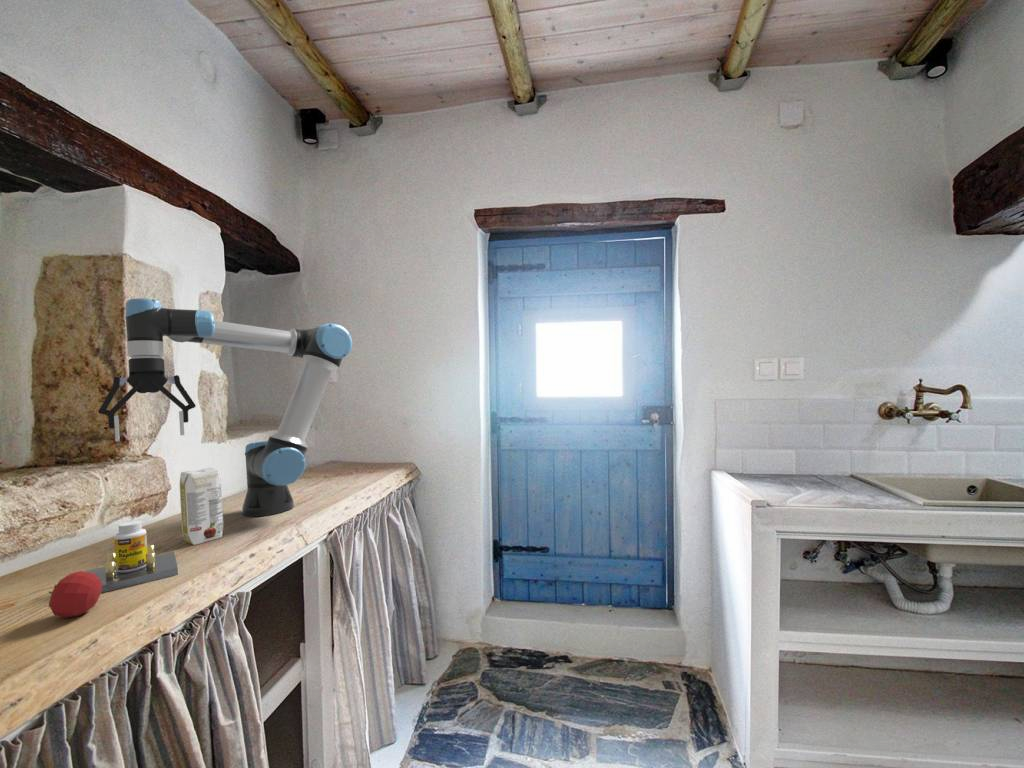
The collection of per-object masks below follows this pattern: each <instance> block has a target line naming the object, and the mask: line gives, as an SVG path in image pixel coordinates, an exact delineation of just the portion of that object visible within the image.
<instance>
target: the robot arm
mask: <svg viewBox="0 0 1024 768" xmlns="http://www.w3.org/2000/svg"><path fill="white" fill-rule="evenodd" d="M125 326H126V327H125V328H126V340H127V342H126V343H127V356H128V357H130V358H129V359H128V360H127V362H128V376H127V377H119V376H115V377H113V381H112V382H113V383H112V386H111V388H110V390H109V392H108V393H107V396H106V397H105V399H104V401H103V402H102V404H101V406H100V407H99V410H98V411H97V413H98V414H99V415H105V416H106V417H107V419H108V421H107V422H108V429H114V438H115V439H114V440H115V442H120V441H121V440H120V422H119V415H115V414H116V413H117V412H118V411H120V409H121V408H122V407H123V406H124V405H125V404H126V403H127V402H128V401H129V400H130V399H131V398H132V397H133V396H134V395H135V394H136V393H138V394H146V393H152V394H156V393H158V392H161V393H162V394H163V395H164V396H166V398H168V399H169V400H170V401H171V402H172V403H174V404H175V405H176V406H177V407H178V408H180V409H181V411H178V415H179V435H180V436H185V424H184V423H189V410H193V409H195V408H196V406H197V405H196V404H195V402H194V401H193V399H192V397H191V396H190V395H189V393H188V392H187V390H186V389H185V387H184V386H183V385H182V382H181V379H180V378H181V377H180V375H178V374H176V375H172V376H167V375H166V370H165V369H166V367H165V366H166V365H165V359H163V358H162V357H164V356H165V351H164V337H167V338H169V339H170V341H173V342H176V343H194V344H195V343H196V344H204V345H205V344H207V345H215V346H216V345H217V346H224V347H234V348H242V349H251V350H257V351H258V350H259V351H266V352H276V353H283V354H284V353H285V354H287V356H289V357H292V358H301V359H303V360H304V363H305V364H304V366H303V368H302V371H301V372H300V376H299V378H298V380H297V383H296V386H295V388H294V391H293V392H292V395H291V398H290V400H289V402H288V405H287V407H286V410H285V411H284V412H285V413H284V415H283V418H282V419H281V422H280V425H279V427H278V428H277V431H276V432H275V433H273V434H272V435H269V438H267V439H268V440H264V441H263V440H262V441H257V442H250V443H248V444H246V445H245V450H244V451H245V452H244V457H245V466H246V467H245V469H246V484H247V487H246V489H247V490H246V494H245V497H244V501H243V503H242V509H241V511H242V515H243V516H245V517H263V516H271V515H276V514H281V513H284V512H286V511H289V510H291V509H293V508H294V507H295V505H294V498H293V495H292V493H291V491H290V488H289V486H288V485H290V484H291V485H292V484H293V483H295V482H297V481H298V480H299V479H300V478H301V476H303V474H304V472H305V470H306V465H307V463H306V462H307V461H306V459H305V456H306V452H307V450H308V447H309V446H308V445H307V442H306V439H307V436H308V434H309V431H310V429H311V427H312V424H313V422H314V419H315V416H316V414H317V411H318V409H319V407H320V403H321V400H323V399H322V398H323V397H324V393H325V392H326V391H325V390H326V389H327V386H328V383H329V380H330V378H331V376H332V373H333V372H335V371H339V368H340V366H341V363H342V360H343V359H344V358H345V357H347V356H348V355H349V354H350V353H351V351H352V349H353V339H352V337H351V334H350V332H349V331H348V330H347V329H346V328H345V327H344V326H342V325H340V324H338V323H325V324H322V325H320V326H317V327H313V328H310V329H309V328H308V329H297V328H291V329H290V330H283V329H275V328H268V327H263V326H257V325H256V326H255V325H247V324H242V323H234V322H229V321H219V320H215V316H214V314H213V313H212V312H211V311H208V310H200V309H181V308H180V309H178V308H177V309H176V308H166V307H163V306H162V304H161V302H160V300H157V299H153V298H152V299H150V298H140V297H139V298H136V297H135V298H130V299H128V300H127V301H126V302H125ZM167 382H170V383H171V384H172V385H175V387H176V389H177V390H178V391H179V393H180V394H181V396H182V397H183V399H184V401H185V402H186V403H187V405H185V404H184V403H183V402H182V401H181V400H179V399H178V398H177V397H176V395H174V394H173V393H172V392H170V391H169V390H168V389H167V388H166V387H164V386H165V384H166V383H167ZM125 383H128V384H129V385H130V386H131V389H130V390H129V391H127V393H126V394H124V396H122V398H120V400H119V401H118V402H117V403H116V404H115V405H114V406H113V407H112V408H111V409H108V408H109V406H110V404H111V403H112V401H113V399H114V397H115V395H116V394H117V393H118V390H119V388H120V386H124V384H125Z"/></svg>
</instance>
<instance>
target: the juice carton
mask: <svg viewBox="0 0 1024 768" xmlns="http://www.w3.org/2000/svg"><path fill="white" fill-rule="evenodd" d="M222 495H223V494H222V478H221V475H220V470H219V469H218V468H215V467H207V468H206V467H205V468H201V469H197V470H189V471H181V472H180V476H179V496H180V497H179V498H180V499H179V500H180V501H179V502H180V516H181V517H180V519H181V531H182V536H183V539H184V541H185V543H188V544H191V545H193V546H195V545H199V544H204V543H207V542H210V541H214V540H217V539H221V538H223V531H224V513H223V512H224V511H223V510H224V509H223V496H222Z"/></svg>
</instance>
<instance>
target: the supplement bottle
mask: <svg viewBox="0 0 1024 768" xmlns="http://www.w3.org/2000/svg"><path fill="white" fill-rule="evenodd" d="M147 536H148V535H147V530H146V529H145V528H143V525H142V521H141V520H133V521H126V522H123V523H120V524H118V532H117V533H116V534H115V535H114V552H115V560H116V571H117V572H119V573H127V572H133V571H136V570H139V569H142V568H144V567H145V566H146V554H147V545H148V537H147Z"/></svg>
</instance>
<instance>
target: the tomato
mask: <svg viewBox="0 0 1024 768" xmlns="http://www.w3.org/2000/svg"><path fill="white" fill-rule="evenodd" d="M101 590H102V582H101V580H100V579H99V577H98V576H97V575H96V574H93V573H89V572H86V571H82V570H79V571H75V572H71V573H69V574H67V575H66V576H64V577H63V578H62V579H60V580H59V581H58V582H57V583H56V584H54V588H53V590H52V591H48V594H50V598H49V602H48V607H49V609H50V610H51V612H52V613H53V615H54V616H57V617H61V618H64V619H65V618H67V619H69V618H73V617H81V615H83V614H85V613H86V612H88V611H89V610H91V609H92V608H94V607H95V605H97V602H98V601H99V598H100V597H101V594H102V593H101Z"/></svg>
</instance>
